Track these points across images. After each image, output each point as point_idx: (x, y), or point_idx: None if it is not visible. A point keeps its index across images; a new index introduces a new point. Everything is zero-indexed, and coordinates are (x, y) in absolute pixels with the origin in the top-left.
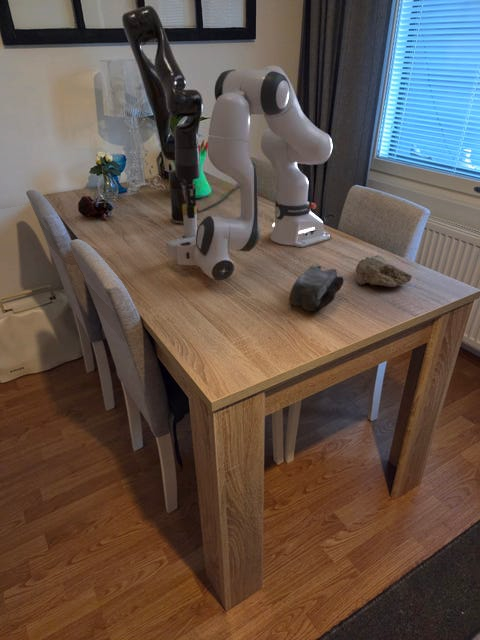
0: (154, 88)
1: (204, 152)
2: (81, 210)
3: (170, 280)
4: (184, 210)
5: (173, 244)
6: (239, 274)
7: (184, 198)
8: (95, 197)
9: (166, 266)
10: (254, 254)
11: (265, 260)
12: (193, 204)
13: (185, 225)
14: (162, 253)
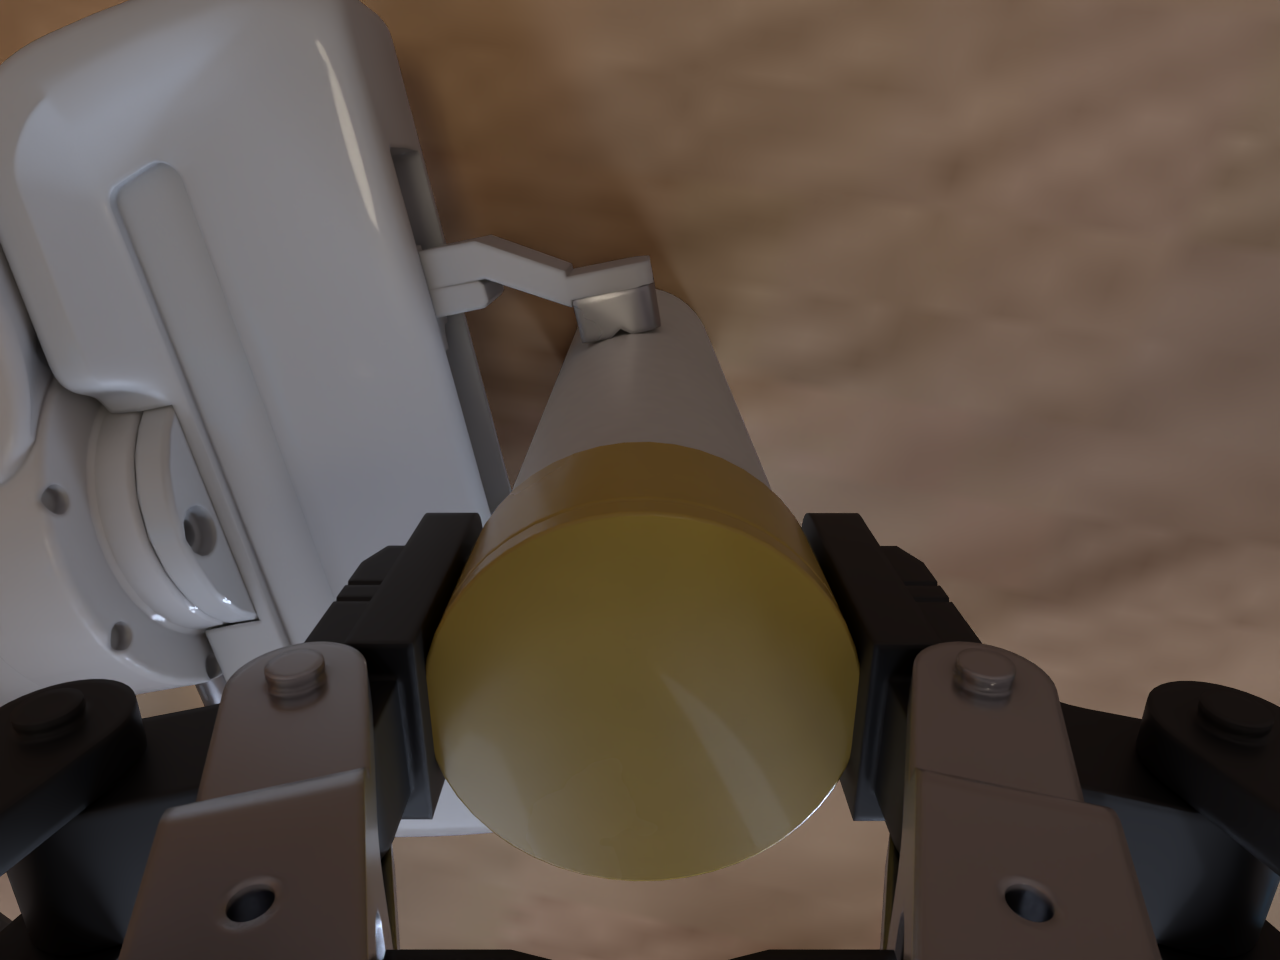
0: None
1: None
2: None
3: (15, 25)
4: (515, 511)
5: (37, 80)
6: (150, 700)
7: (960, 713)
8: None
9: (401, 17)
10: (549, 887)
11: (411, 929)
12: (22, 903)
13: (566, 400)
14: (809, 5)
